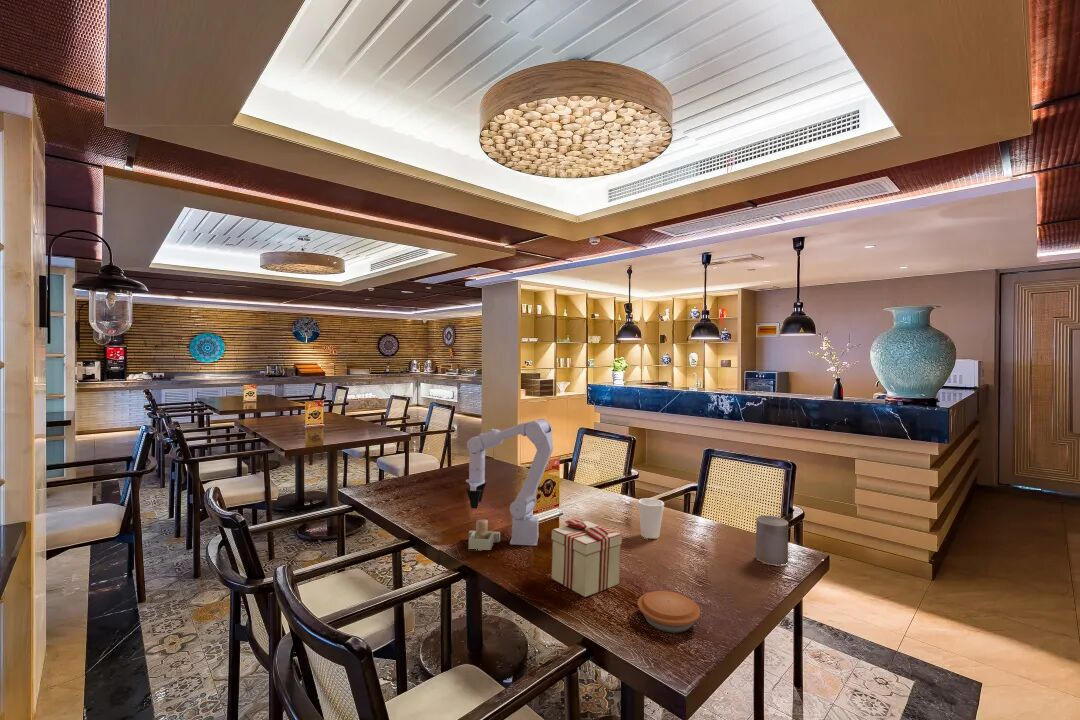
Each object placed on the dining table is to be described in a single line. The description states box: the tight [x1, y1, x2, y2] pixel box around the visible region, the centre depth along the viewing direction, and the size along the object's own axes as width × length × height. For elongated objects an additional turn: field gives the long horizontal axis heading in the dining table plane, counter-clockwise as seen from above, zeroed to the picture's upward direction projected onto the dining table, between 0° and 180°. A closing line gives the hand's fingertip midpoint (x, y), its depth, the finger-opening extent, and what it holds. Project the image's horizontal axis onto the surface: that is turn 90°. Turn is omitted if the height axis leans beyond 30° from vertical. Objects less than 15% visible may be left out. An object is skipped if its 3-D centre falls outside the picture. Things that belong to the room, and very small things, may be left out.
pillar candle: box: [755, 515, 789, 565], centre depth 160 cm, size 10×10×15 cm
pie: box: [636, 590, 701, 633], centre depth 122 cm, size 15×16×5 cm
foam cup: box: [637, 497, 665, 538], centre depth 179 cm, size 10×9×13 cm
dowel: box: [475, 518, 489, 539], centre depth 166 cm, size 4×4×8 cm
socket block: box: [468, 530, 495, 551], centre depth 167 cm, size 8×8×4 cm
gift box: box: [551, 517, 623, 598], centre depth 143 cm, size 17×18×17 cm
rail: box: [468, 530, 501, 543], centre depth 171 cm, size 11×2×3 cm, turn 87°
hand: (476, 504), depth 179 cm, fingers open, 7 cm apart
